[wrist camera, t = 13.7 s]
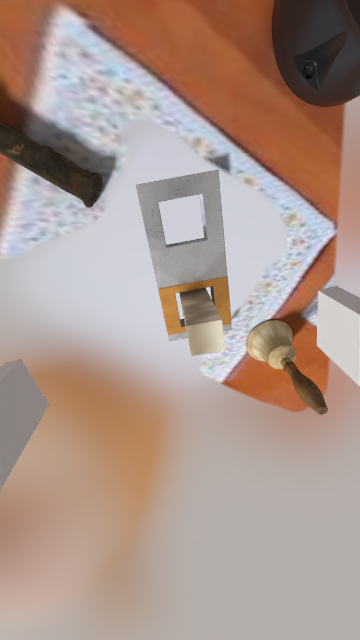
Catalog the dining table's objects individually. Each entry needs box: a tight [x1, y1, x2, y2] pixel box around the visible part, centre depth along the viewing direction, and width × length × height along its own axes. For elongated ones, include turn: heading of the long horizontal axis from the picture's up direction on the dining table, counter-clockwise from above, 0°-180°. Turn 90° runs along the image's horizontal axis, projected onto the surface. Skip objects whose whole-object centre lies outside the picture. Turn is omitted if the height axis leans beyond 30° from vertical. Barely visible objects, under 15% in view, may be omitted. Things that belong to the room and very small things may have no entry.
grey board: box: [136, 170, 232, 341], centre depth 35 cm, size 10×22×3 cm, turn 10°
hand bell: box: [246, 320, 328, 415], centre depth 36 cm, size 8×8×16 cm
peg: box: [180, 288, 225, 356], centre depth 33 cm, size 4×4×12 cm
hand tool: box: [0, 122, 102, 207], centre depth 27 cm, size 19×4×5 cm, turn 58°
